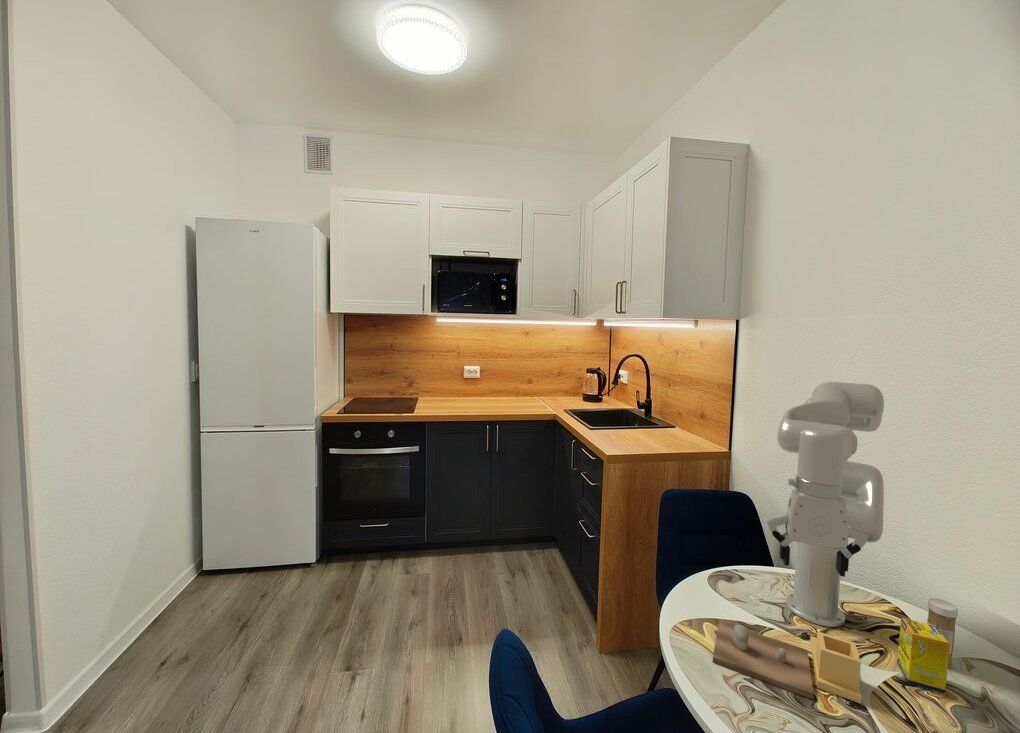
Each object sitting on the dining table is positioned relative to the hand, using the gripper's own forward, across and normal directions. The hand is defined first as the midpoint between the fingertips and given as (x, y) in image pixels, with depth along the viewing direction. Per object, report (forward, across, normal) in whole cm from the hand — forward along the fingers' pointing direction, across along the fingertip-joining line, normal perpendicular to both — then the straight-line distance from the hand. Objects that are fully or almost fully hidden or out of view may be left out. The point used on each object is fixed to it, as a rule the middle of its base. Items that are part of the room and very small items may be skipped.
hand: (812, 567), depth 89 cm
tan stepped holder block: (+23, +6, +3) cm, 24 cm away
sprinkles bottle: (+23, +29, +16) cm, 40 cm away
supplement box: (+23, +22, +8) cm, 33 cm away
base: (+23, -8, +1) cm, 24 cm away
